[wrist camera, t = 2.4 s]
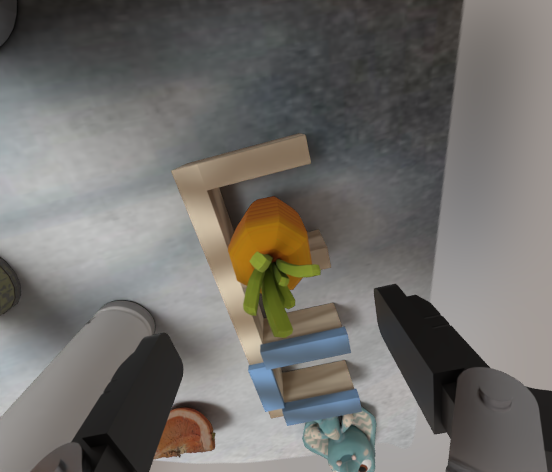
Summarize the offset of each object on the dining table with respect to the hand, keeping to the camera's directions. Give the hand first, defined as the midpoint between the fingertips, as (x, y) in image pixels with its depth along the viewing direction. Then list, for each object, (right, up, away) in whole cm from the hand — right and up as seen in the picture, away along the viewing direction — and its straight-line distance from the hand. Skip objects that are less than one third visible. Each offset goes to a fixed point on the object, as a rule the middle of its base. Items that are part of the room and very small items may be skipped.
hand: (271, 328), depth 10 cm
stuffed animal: (+9, -22, +27) cm, 36 cm away
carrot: (0, +6, +15) cm, 16 cm away
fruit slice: (-12, -21, +26) cm, 35 cm away
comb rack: (+2, -2, +18) cm, 18 cm away
